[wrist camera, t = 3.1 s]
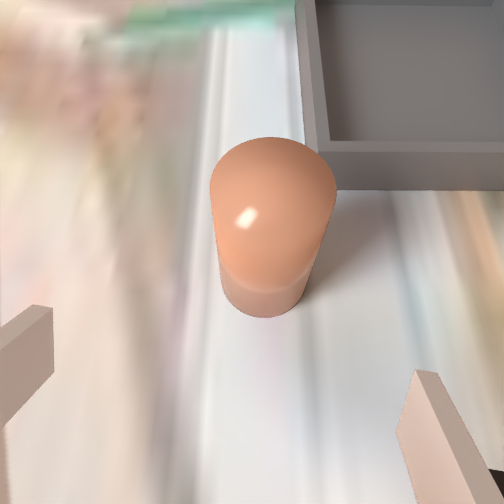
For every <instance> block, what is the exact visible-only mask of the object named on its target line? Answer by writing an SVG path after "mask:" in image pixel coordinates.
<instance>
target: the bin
mask: <svg viewBox="0 0 504 504" xmlns="http://www.w3.org/2000/svg"><path fill="white" fill-rule="evenodd" d="M295 19H296V31H297V44H298V57H299V70H300V83H301V96H302V108H303V121H304V134H305V146H307V147H309V148H310V149H312V150H313V151H315V152H316V153H317V154H318V155H320V156H321V157H322V158H323V160H324V161H325V162H326V163H327V165H328V166H329V168H330V169H331V171H332V173H333V176H334V179H335V183H336V190H498V191H504V0H295Z"/></svg>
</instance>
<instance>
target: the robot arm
mask: <svg viewBox="0 0 504 504" xmlns="http://www.w3.org/2000/svg"><path fill="white" fill-rule="evenodd" d="M53 373H54V340H53V308H50V307H44V306H39V305H31V306H30V307H28V308H27V309H26V310H24V311H23V312H22V313H20V314H19V315H18V316H16V317H15V318H13V319H12V320H11V321H9V322H8V323H7V324H5V325H4V326H3V327H1V328H0V430H1V429H2V427H3V426H4V425H5V424H6V423H7V422H8V421H9V420H10V419H11V418H12V417H13V416H14V415H15V413H16V412H17V411H18V410H19V409H20V408H21V407H22V406H23V405H24V404H25V403H26V402H27V401H28V399H29V398H30V397H31V396H32V395H33V394H34V393H35V392H36V391H37V390H38V389H39V388H40V387H41V386H42V384H43V383H44V382H45V381H46V380H47V379H48V378H49V377H50V376H51V375H52V374H53ZM396 434H397V438H398V441H399V444H400V447H401V451H402V454H403V457H404V460H405V464H406V467H407V470H408V474H409V477H410V480H411V483H412V487H413V490H414V493H415V496H416V500H417V503H418V504H504V472H503V471H498V470H492V469H488V468H487V466H486V464H485V462H484V460H483V458H482V456H481V455H480V453H479V451H478V449H477V447H476V445H475V443H474V441H473V440H472V438H471V436H470V434H469V432H468V430H467V428H466V426H465V424H464V423H463V421H462V419H461V417H460V415H459V413H458V411H457V409H456V408H455V406H454V404H453V402H452V400H451V398H450V396H449V394H448V392H447V391H446V389H445V387H444V385H443V383H442V381H441V379H440V377H439V376H438V374H437V373H434V372H428V371H422V370H416V369H415V371H414V374H413V378H412V381H411V384H410V387H409V391H408V394H407V397H406V401H405V404H404V407H403V411H402V414H401V417H400V421H399V424H398V427H397V431H396Z"/></svg>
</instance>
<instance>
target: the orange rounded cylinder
mask: <svg viewBox="0 0 504 504" xmlns="http://www.w3.org/2000/svg"><path fill="white" fill-rule="evenodd" d="M210 197H211V205H212V213H213V221H214V229H215V237H216V244H217V252H218V260H219V268H220V276H221V283H222V288H223V291H224V293H225V295H226V297H227V299H228V300H229V301H230V303H231V304H232V305H233V306H234V307H236V308H237V309H238V310H240V311H241V312H243V313H245V314H247V315H250V316H253V317H259V318H270V317H275V316H278V315H281V314H283V313H285V312H287V311H289V310H290V309H291V308H293V307H294V306H295V305H296V304H297V302H298V301H299V300H300V298H301V297H302V294H303V292H304V289H305V287H306V284H307V281H308V278H309V275H310V273H311V270H312V267H313V264H314V261H315V259H316V256H317V253H318V250H319V247H320V245H321V242H322V239H323V236H324V233H325V230H326V228H327V225H328V222H329V219H330V216H331V214H332V211H333V208H334V205H335V201H336V183H335V179H334V176H333V173H332V171H331V169H330V168H329V166H328V165H327V163H326V162H325V161H324V160H323V158H322V157H321V156H320V155H318V154H317V153H316V152H315V151H313V150H312V149H310V148H309V147H307V146H305V145H303V144H301V143H299V142H296V141H293V140H289V139H284V138H276V137H265V138H257V139H253V140H249V141H246V142H244V143H241V144H239V145H237V146H236V147H234V148H233V149H231V150H230V151H228V152H227V153H226V154H225V155H224V156H223V157H222V158H221V159H220V160H219V162H218V163H217V165H216V166H215V169H214V171H213V173H212V176H211V180H210Z"/></svg>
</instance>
